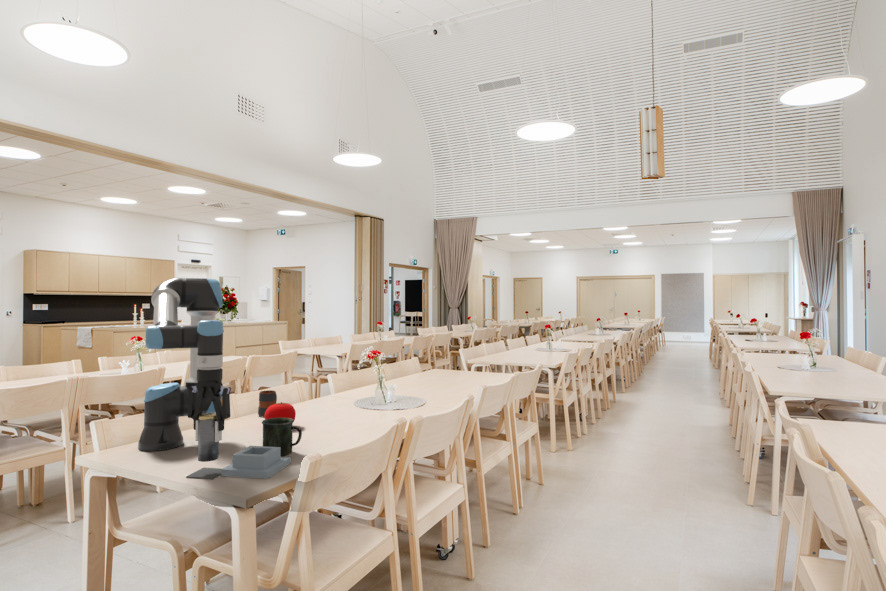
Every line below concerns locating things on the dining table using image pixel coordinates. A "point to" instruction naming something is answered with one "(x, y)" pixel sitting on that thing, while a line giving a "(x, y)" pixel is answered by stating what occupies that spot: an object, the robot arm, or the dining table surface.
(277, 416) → the tomato
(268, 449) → the housing
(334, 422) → the dining table surface
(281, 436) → the mug
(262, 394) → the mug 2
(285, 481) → the dining table surface
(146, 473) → the dining table surface
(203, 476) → the mat
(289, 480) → the dining table surface
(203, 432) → the grey canister
